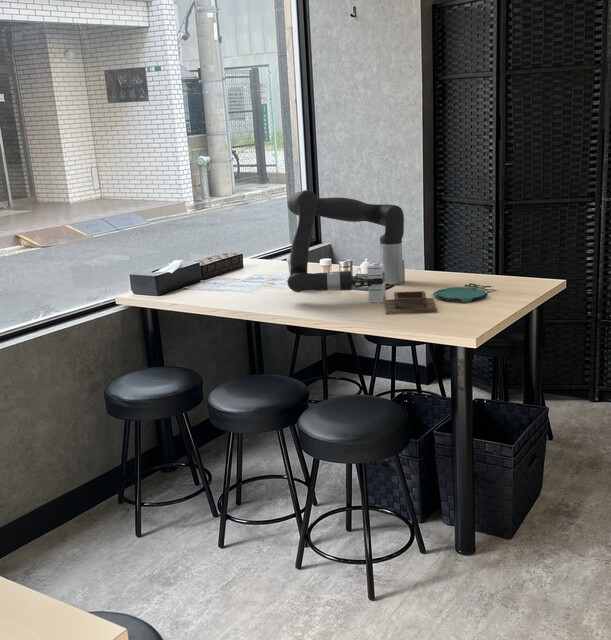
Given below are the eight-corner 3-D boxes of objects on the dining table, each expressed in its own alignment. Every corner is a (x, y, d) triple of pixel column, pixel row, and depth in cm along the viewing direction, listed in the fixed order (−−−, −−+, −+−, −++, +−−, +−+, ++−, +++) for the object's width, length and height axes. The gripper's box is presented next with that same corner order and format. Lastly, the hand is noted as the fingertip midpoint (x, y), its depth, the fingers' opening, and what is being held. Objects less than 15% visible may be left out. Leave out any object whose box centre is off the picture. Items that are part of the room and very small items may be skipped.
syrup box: (383, 302, 296) (382, 265, 293) (368, 302, 298) (366, 265, 294) (386, 299, 302) (384, 262, 298) (371, 299, 303) (369, 262, 299)
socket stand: (385, 302, 296) (385, 290, 295) (433, 300, 294) (432, 288, 293) (386, 314, 279) (386, 301, 278) (436, 312, 277) (436, 299, 276)
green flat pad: (423, 299, 298) (423, 293, 298) (466, 286, 319) (466, 280, 318) (468, 306, 285) (468, 300, 284) (509, 291, 305) (509, 286, 305)
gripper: (338, 275, 291) (382, 273, 289) (339, 268, 305) (382, 266, 303) (339, 294, 293) (383, 292, 291) (340, 286, 307) (382, 284, 305)
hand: (382, 279), depth 297 cm, fingers open, 6 cm apart
